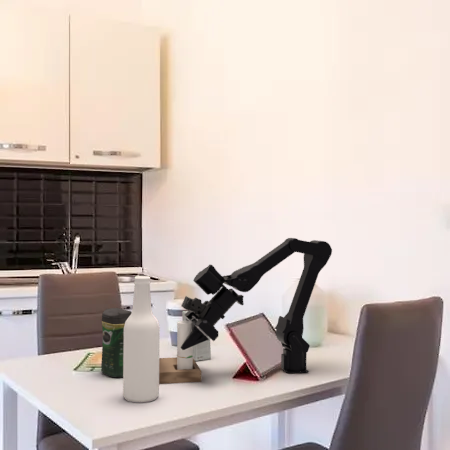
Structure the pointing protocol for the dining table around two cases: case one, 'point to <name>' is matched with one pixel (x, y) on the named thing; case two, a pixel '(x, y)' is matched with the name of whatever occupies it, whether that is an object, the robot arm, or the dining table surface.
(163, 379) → the wooden block with hole
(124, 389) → the alcohol
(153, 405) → the dining table surface
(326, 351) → the dining table surface
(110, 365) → the coffee jar
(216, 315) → the robot arm
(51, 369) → the dining table surface
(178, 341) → the tube
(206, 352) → the skincare box
